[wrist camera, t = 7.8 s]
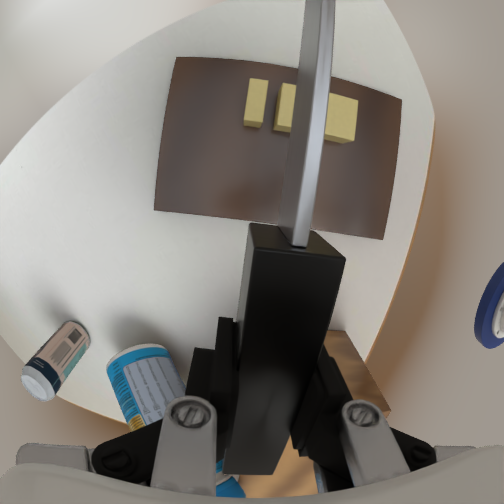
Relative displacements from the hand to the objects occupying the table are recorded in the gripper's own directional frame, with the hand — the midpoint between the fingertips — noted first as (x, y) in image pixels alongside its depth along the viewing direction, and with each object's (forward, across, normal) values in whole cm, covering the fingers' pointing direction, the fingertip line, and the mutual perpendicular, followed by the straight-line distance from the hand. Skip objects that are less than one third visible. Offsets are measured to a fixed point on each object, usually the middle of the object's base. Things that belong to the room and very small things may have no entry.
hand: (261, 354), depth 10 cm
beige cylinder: (+19, +22, +16) cm, 33 cm away
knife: (0, 0, -6) cm, 6 cm away
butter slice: (+18, +1, -13) cm, 22 cm away
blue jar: (+16, +12, +15) cm, 25 cm away
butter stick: (+18, -4, -13) cm, 22 cm away
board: (+19, -2, -10) cm, 22 cm away
